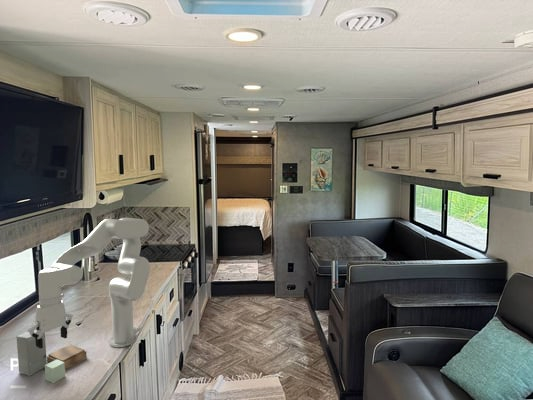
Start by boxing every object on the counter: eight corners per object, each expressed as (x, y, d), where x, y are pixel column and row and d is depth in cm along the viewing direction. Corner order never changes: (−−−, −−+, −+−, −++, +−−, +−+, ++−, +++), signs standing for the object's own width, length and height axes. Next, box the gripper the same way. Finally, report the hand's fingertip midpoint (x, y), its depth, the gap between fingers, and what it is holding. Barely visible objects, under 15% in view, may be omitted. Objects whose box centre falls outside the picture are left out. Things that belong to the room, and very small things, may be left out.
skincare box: (29, 376, 149) (26, 339, 147) (17, 372, 151) (14, 336, 150) (48, 365, 156) (46, 330, 155) (36, 362, 159) (34, 327, 157)
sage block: (57, 373, 151) (57, 359, 151) (65, 376, 149) (64, 362, 148) (45, 379, 147) (44, 365, 146) (53, 383, 144) (52, 368, 144)
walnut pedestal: (71, 351, 168) (70, 343, 167) (86, 358, 163) (86, 349, 162) (47, 363, 158) (46, 354, 158) (62, 370, 153) (62, 361, 153)
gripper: (65, 292, 154) (67, 331, 155) (21, 305, 139) (23, 349, 140) (77, 295, 150) (78, 336, 152) (33, 309, 135) (34, 354, 136)
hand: (52, 342), depth 146 cm, fingers open, 9 cm apart
